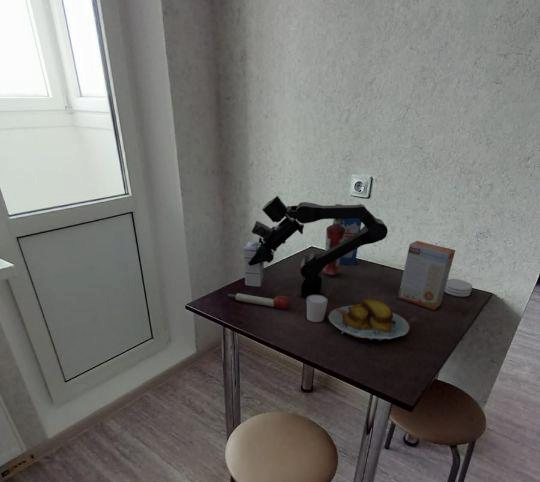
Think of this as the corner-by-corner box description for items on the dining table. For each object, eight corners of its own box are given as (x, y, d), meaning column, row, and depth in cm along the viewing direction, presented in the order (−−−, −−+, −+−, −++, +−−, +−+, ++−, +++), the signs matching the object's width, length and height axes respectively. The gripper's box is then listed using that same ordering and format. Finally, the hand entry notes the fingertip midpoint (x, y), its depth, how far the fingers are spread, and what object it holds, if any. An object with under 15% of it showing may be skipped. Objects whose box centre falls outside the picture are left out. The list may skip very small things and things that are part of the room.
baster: (290, 306, 140) (291, 295, 138) (287, 311, 137) (288, 300, 135) (231, 296, 146) (231, 285, 144) (226, 301, 142) (226, 290, 140)
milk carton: (332, 263, 178) (337, 217, 168) (332, 258, 184) (338, 213, 174) (355, 265, 177) (362, 219, 167) (355, 260, 183) (361, 215, 172)
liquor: (321, 270, 171) (329, 202, 156) (339, 271, 170) (348, 203, 156) (321, 276, 164) (329, 206, 150) (339, 278, 164) (348, 207, 149)
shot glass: (327, 315, 136) (329, 296, 132) (323, 324, 130) (325, 305, 127) (307, 311, 138) (309, 292, 134) (302, 320, 132) (304, 301, 128)
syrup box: (260, 287, 145) (260, 248, 137) (244, 285, 146) (243, 247, 138) (263, 280, 150) (263, 242, 142) (248, 278, 151) (247, 241, 143)
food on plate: (312, 325, 129) (314, 307, 126) (355, 302, 145) (357, 285, 142) (382, 358, 114) (387, 338, 111) (422, 328, 130) (426, 310, 127)
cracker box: (440, 305, 145) (456, 249, 135) (433, 311, 141) (449, 253, 131) (404, 293, 153) (417, 239, 143) (397, 298, 149) (409, 243, 139)
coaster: (462, 299, 150) (465, 291, 148) (437, 290, 157) (440, 282, 155) (474, 293, 156) (477, 284, 154) (450, 284, 162) (452, 276, 161)
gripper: (268, 207, 143) (237, 236, 149) (263, 221, 127) (229, 253, 133) (289, 230, 147) (258, 258, 153) (287, 247, 131) (253, 277, 137)
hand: (250, 261), depth 144 cm, fingers closed on syrup box, 6 cm apart
